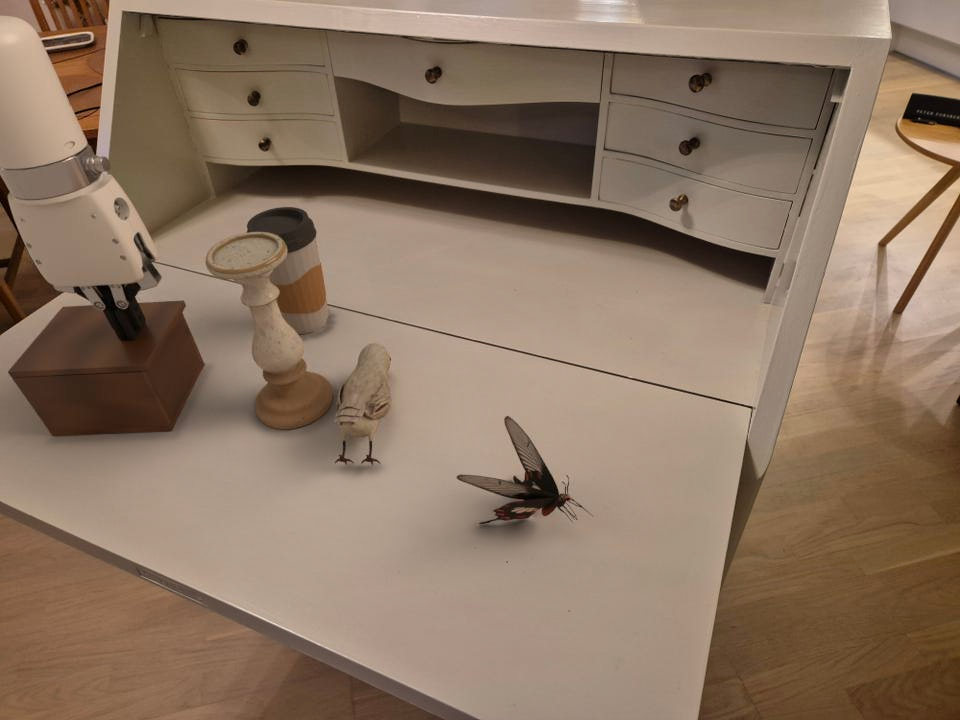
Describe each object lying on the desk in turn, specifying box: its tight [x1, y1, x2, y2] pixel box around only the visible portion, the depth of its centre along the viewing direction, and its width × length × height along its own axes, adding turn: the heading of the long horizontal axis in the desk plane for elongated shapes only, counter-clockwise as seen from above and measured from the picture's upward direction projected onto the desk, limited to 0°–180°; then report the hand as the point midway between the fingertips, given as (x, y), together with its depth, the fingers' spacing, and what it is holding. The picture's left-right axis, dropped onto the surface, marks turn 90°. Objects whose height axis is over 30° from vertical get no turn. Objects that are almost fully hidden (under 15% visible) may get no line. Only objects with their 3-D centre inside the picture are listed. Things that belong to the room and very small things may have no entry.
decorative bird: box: [332, 342, 392, 466], centre depth 69 cm, size 5×16×8 cm, turn 177°
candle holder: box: [205, 232, 334, 430], centre depth 67 cm, size 9×9×20 cm
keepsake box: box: [11, 312, 205, 437], centre depth 73 cm, size 14×12×9 cm
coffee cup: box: [246, 206, 330, 335], centre depth 81 cm, size 8×8×15 cm
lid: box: [7, 300, 187, 378], centre depth 70 cm, size 14×12×1 cm
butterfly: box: [456, 415, 595, 525], centre depth 58 cm, size 11×8×10 cm
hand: (133, 332), depth 69 cm, fingers closed
